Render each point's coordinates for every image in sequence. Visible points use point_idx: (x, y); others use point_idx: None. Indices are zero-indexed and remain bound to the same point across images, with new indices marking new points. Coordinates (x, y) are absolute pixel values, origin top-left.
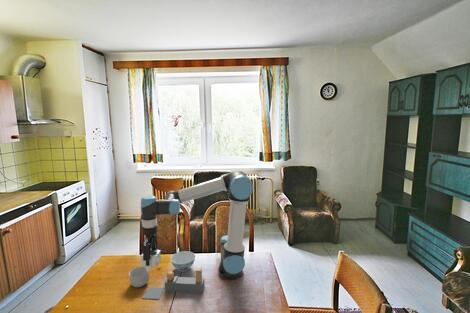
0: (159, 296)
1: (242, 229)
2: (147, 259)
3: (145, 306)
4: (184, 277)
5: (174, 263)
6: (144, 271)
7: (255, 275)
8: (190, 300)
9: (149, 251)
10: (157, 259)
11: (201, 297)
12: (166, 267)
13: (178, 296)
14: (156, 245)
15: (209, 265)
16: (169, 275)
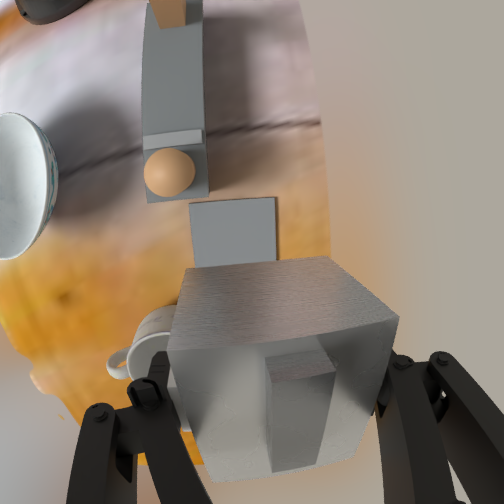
0: (258, 200)
1: None
2: (455, 362)
3: (319, 236)
4: (143, 97)
5: (46, 211)
6: (135, 349)
7: None
8: (261, 51)
9: (437, 437)
10: (309, 287)
11: (236, 15)
12: (47, 268)
13: (240, 109)
14: (113, 450)
15: (15, 76)
16: (191, 167)
